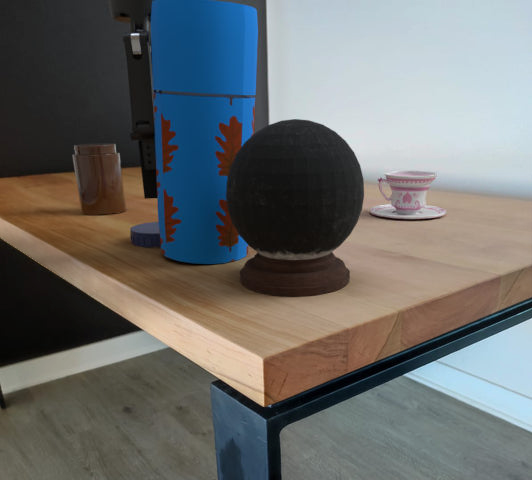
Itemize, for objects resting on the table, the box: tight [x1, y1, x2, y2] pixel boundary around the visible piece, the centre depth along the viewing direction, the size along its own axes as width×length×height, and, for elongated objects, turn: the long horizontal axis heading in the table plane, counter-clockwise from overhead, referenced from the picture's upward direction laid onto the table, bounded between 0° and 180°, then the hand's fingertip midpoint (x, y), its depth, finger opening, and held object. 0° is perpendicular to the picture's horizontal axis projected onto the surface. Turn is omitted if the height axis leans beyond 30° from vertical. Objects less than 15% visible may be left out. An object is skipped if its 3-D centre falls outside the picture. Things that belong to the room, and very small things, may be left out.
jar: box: [72, 142, 127, 216], centre depth 92 cm, size 8×8×11 cm
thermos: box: [151, 0, 259, 265], centre depth 60 cm, size 11×11×25 cm
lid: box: [129, 221, 161, 248], centre depth 72 cm, size 8×8×2 cm
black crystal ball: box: [226, 118, 365, 297], centre depth 52 cm, size 13×13×15 cm
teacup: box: [369, 170, 447, 220], centre depth 86 cm, size 12×12×6 cm
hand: (161, 193), depth 69 cm, fingers open, 7 cm apart
